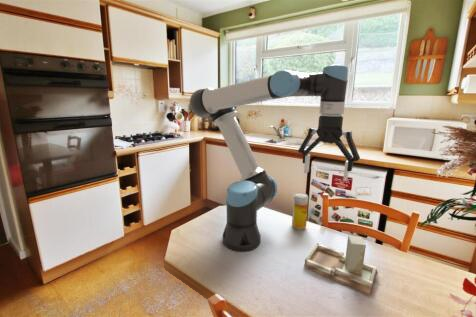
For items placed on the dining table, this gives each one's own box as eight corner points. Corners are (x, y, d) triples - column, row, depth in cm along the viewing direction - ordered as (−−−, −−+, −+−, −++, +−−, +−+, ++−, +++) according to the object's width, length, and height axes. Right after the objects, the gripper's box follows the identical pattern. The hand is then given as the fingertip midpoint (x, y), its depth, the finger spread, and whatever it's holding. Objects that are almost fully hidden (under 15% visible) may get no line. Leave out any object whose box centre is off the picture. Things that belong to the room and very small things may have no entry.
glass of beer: (307, 230, 106) (310, 197, 102) (293, 230, 106) (295, 197, 102) (304, 223, 112) (306, 192, 108) (290, 222, 112) (292, 192, 108)
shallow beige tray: (303, 267, 84) (304, 260, 83) (317, 248, 94) (317, 242, 93) (369, 295, 72) (370, 287, 71) (376, 270, 82) (377, 263, 82)
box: (361, 277, 77) (366, 246, 75) (347, 274, 78) (351, 244, 75) (357, 266, 82) (362, 236, 79) (344, 264, 83) (348, 234, 80)
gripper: (291, 113, 86) (287, 171, 91) (371, 118, 72) (361, 186, 77) (299, 112, 92) (296, 167, 97) (375, 116, 77) (366, 180, 83)
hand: (325, 176), depth 87 cm, fingers open, 13 cm apart
